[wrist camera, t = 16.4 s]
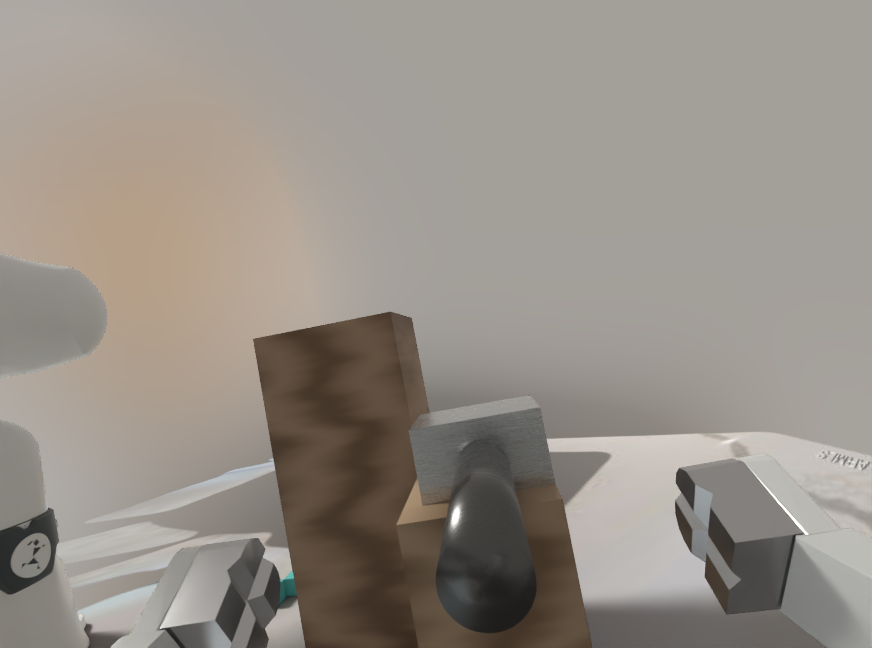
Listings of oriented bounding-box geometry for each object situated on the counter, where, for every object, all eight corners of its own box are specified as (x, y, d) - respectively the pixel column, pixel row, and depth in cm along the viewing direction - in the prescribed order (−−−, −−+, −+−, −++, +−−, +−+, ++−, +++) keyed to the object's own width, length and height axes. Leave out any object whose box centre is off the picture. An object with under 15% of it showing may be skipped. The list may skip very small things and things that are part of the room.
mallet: (373, 649, 13) (348, 508, 13) (432, 476, 29) (420, 414, 29) (623, 616, 12) (593, 468, 13) (542, 458, 29) (529, 395, 29)
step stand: (252, 866, 22) (167, 339, 24) (356, 624, 41) (306, 338, 42) (628, 830, 21) (516, 269, 22) (557, 596, 40) (499, 300, 41)
